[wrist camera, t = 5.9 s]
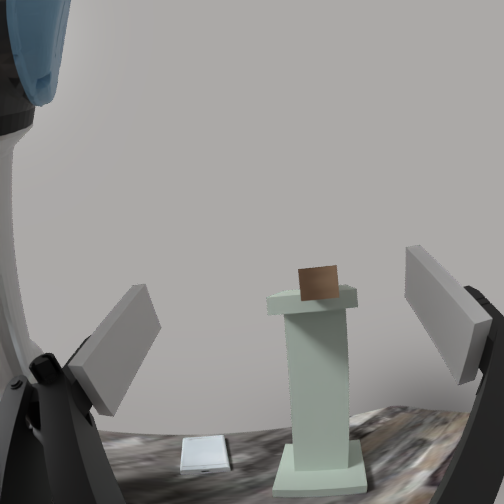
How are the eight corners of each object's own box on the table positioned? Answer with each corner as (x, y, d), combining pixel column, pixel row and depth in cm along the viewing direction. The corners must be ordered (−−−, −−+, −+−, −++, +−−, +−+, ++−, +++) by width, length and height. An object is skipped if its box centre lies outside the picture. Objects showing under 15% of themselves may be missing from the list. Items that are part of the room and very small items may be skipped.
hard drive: (182, 437, 52) (179, 469, 40) (223, 434, 53) (229, 466, 41) (184, 444, 52) (181, 477, 40) (224, 441, 53) (231, 473, 41)
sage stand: (271, 501, 32) (253, 298, 35) (286, 448, 48) (274, 291, 50) (367, 496, 29) (369, 287, 32) (358, 443, 45) (354, 283, 48)
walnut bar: (301, 301, 24) (298, 269, 24) (310, 288, 47) (309, 272, 48) (339, 297, 23) (336, 265, 24) (330, 286, 47) (328, 270, 47)
